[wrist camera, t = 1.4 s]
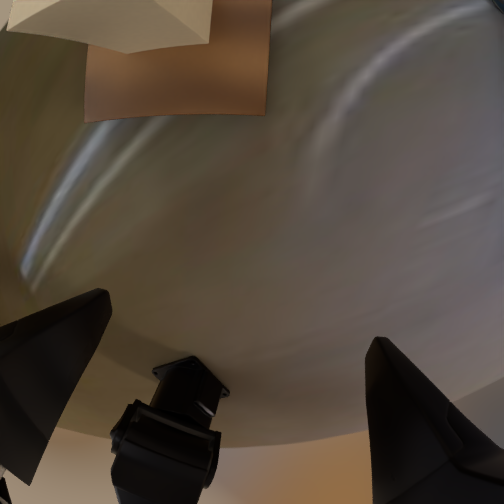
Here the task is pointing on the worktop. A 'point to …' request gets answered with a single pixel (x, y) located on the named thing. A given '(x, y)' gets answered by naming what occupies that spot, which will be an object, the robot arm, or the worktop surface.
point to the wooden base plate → (187, 71)
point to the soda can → (499, 4)
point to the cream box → (116, 22)
